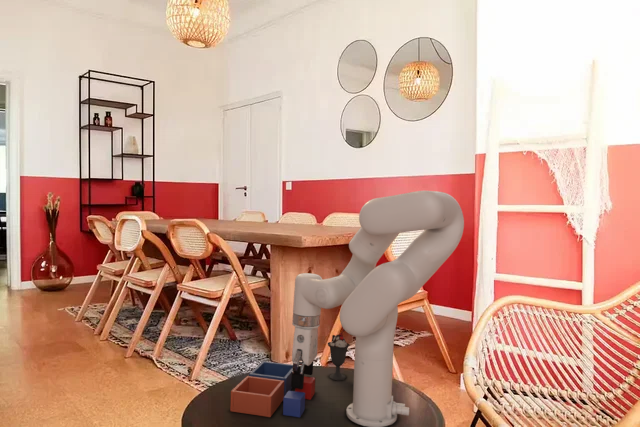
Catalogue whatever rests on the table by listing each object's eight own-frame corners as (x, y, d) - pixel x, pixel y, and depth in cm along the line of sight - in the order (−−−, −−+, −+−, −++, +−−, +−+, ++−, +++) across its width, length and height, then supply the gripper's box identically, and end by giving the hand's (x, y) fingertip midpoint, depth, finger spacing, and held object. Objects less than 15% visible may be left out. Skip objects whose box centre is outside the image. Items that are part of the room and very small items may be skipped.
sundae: (347, 382, 138) (348, 332, 137) (324, 380, 139) (326, 329, 138) (350, 374, 144) (351, 326, 144) (328, 372, 145) (330, 324, 145)
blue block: (304, 409, 119) (305, 392, 119) (299, 417, 115) (300, 399, 115) (288, 407, 120) (288, 390, 120) (282, 414, 116) (283, 397, 116)
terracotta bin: (283, 399, 125) (284, 380, 125) (270, 417, 115) (271, 396, 114) (246, 394, 127) (247, 375, 127) (230, 411, 117) (230, 391, 117)
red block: (314, 393, 130) (315, 377, 129) (310, 399, 125) (311, 383, 125) (299, 391, 131) (299, 375, 130) (294, 397, 126) (295, 381, 126)
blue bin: (296, 382, 137) (297, 365, 136) (285, 397, 126) (286, 378, 126) (262, 378, 139) (262, 361, 139) (248, 392, 129) (249, 373, 129)
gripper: (311, 330, 118) (307, 396, 119) (326, 313, 135) (322, 371, 136) (283, 326, 120) (279, 391, 121) (301, 310, 137) (297, 367, 138)
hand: (302, 380), depth 128 cm, fingers open, 9 cm apart
